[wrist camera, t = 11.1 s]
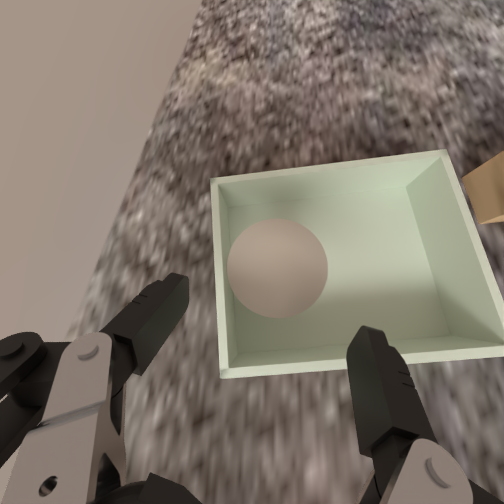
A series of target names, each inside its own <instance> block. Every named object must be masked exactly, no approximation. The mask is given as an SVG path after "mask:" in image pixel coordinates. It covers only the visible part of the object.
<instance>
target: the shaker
mask: <svg viewBox="0 0 504 504" xmlns="http://www.w3.org/2000/svg"><path fill="white" fill-rule="evenodd" d="M227 276H228V280H229V283H230V286H231V289H232V290H233V292H234V294H235V296H236V297H237V298H238V300H239V301H240V302H241V303H242V304H243V305H244V306H246V307H247V308H248V309H250V310H251V311H253V312H255V313H257V314H259V315H262V316H265V317H270V318H286V317H291V316H294V315H297V314H299V313H301V312H303V311H305V310H306V309H308V308H309V307H310V306H312V305H313V304H314V303H315V302H316V300H317V299H318V298H319V296H320V295H321V293H322V291H323V289H324V287H325V284H326V281H327V276H328V262H327V257H326V254H325V251H324V248H323V246H322V244H321V243H320V241H319V240H318V238H317V237H316V236H315V235H314V234H313V233H312V232H311V231H310V230H309V229H307V228H306V227H304V226H303V225H301V224H299V223H297V222H294V221H291V220H286V219H267V220H263V221H260V222H257V223H255V224H253V225H251V226H250V227H248V228H247V229H245V230H244V231H243V232H242V233H241V234H240V235H239V236H238V237H237V239H236V240H235V242H234V243H233V245H232V247H231V249H230V252H229V255H228V260H227Z"/></svg>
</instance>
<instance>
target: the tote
mask: <svg viewBox="0 0 504 504" xmlns="http://www.w3.org/2000/svg"><path fill="white" fill-rule="evenodd" d="M210 181H211V202H212V222H213V242H214V262H215V282H216V303H217V323H218V343H219V363H220V379H226V378H238V377H251V376H263V375H276V374H288V373H301V372H313V371H326V370H338V369H347V362H346V354H347V349H348V346H349V345H350V343H351V341H352V340H353V338H354V336H355V335H356V333H357V332H358V330H359V328H360V327H361V326H362V325H365V326H368V327H372V328H376V329H379V330H382V331H383V332H384V333H385V335H386V338H387V341H388V344H389V346H392V347H395V348H396V349H397V351H398V352H399V353H400V355H401V356H402V357H403V359H404V360H405V362H406V364H413V363H426V362H438V361H451V360H463V359H476V358H488V357H501V356H504V301H503V299H502V296H501V293H500V291H499V288H498V285H497V283H496V280H495V277H494V275H493V272H492V269H491V267H490V264H489V261H488V259H487V256H486V253H485V251H484V248H483V245H482V243H481V240H480V237H479V235H478V232H477V229H476V227H475V224H474V221H473V219H472V216H471V213H470V211H469V208H468V205H467V203H466V200H465V198H464V195H463V192H462V190H461V187H460V184H459V182H458V179H457V176H456V174H455V171H454V168H453V166H452V163H451V160H450V158H449V155H448V152H447V150H446V149H443V150H435V151H426V152H418V153H410V154H402V155H394V156H386V157H378V158H370V159H362V160H354V161H346V162H338V163H330V164H322V165H314V166H306V167H298V168H290V169H282V170H274V171H266V172H258V173H250V174H242V175H234V176H226V177H218V178H210ZM267 219H286V220H291V221H294V222H297V223H299V224H301V225H303V226H304V227H306V228H307V229H309V230H310V231H311V232H312V233H313V234H314V235H315V236H316V237H317V238H318V240H319V241H320V243H321V244H322V246H323V248H324V251H325V254H326V257H327V262H328V276H327V281H326V284H325V287H324V289H323V291H322V293H321V295H320V296H319V298H318V299H317V300H316V302H315V303H314V304H313V305H312V306H310V307H309V308H308V309H306V310H305V311H303V312H301V313H299V314H297V315H294V316H291V317H286V318H270V317H265V316H262V315H259V314H257V313H255V312H253V311H251V310H250V309H248V308H247V307H246V306H244V305H243V304H242V303H241V302H240V301H239V300H238V298H237V297H236V296H235V294H234V292H233V290H232V289H231V286H230V283H229V280H228V276H227V260H228V255H229V252H230V249H231V247H232V245H233V243H234V242H235V240H236V239H237V237H238V236H239V235H240V234H241V233H242V232H243V231H244V230H245V229H247V228H248V227H250V226H251V225H253V224H255V223H257V222H260V221H263V220H267Z"/></svg>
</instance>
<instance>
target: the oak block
mask: <svg viewBox="0 0 504 504" xmlns="http://www.w3.org/2000/svg"><path fill="white" fill-rule="evenodd" d="M462 181H463V183H464V186H465V189H466V191H467V194H468V197H469V199H470V202H471V204H472V207H473V210H474V212H475V215H476V218H477V220H478V223H479V224H484V223H493V222H502V221H504V151H502V152H501V153H499V154H497V155H496V156H494V157H493V158H491V159H490V160H488V161H487V162H485V163H484V164H482V165H481V166H479V167H478V168H476V169H475V170H473V171H472V172H470V173H469V174H467V175H466V176H464V177H463V178H462Z"/></svg>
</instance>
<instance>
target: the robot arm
mask: <svg viewBox="0 0 504 504" xmlns="http://www.w3.org/2000/svg"><path fill="white" fill-rule="evenodd" d="M188 304H189V279H188V277H187V276H184V275H180V274H176V273H170V274H169V275H168V276H167V277H166V278H165V279H164V280H163V281H160V280H157V281H155V282H153V283H152V284H150V285H148V286H146V287H145V288H144V289H143V290H142V291H141V292H140V293H139V295H138V296H136V297H135V298H134V299H133V300H132V302H130V303H129V304H128V305H127V306H126V307H125V308H124V309H123V310H122V311H121V312H120V313H119V314H118V315H117V316H115V317H114V318H113V319H112V320H111V321H110V322H109V323H108V324H107V325H106V326H105V327H104V328H103V329H102V330H101V331H99V332H94V333H89V334H86V335H83V336H81V337H79V338H77V339H76V340H74V341H73V342H43V340H42V339H41V337H40V336H39V335H38V334H37V333H34V332H22V333H17V334H14V335H11V336H9V337H6V338H4V339H2V340H0V400H1V399H2V398H3V397H4V396H5V395H6V394H7V395H8V396H7V397H6V398H5V399H4V400H3V401H2V402H1V403H0V468H1V467H2V466H3V464H4V463H5V462H6V461H7V460H8V459H9V458H10V456H11V455H12V454H13V453H14V452H15V450H16V449H17V448H18V447H19V446H20V445H21V447H20V449H19V452H18V455H17V458H16V461H15V464H14V467H13V470H12V473H11V476H10V479H9V482H8V485H7V488H6V491H5V494H4V497H3V499H2V502H1V504H202V503H201V502H200V501H199V500H198V499H197V498H195V497H194V496H193V495H192V494H191V493H190V492H189V491H188V490H187V489H186V488H185V487H184V486H182V485H180V484H177V483H175V482H172V481H170V480H167V479H165V478H163V477H160V476H158V475H155V474H153V473H151V472H150V474H149V476H148V478H147V480H146V481H139V482H134V483H130V484H127V485H125V480H126V452H125V445H124V423H125V400H126V381H127V379H128V378H129V377H130V375H131V374H132V373H134V374H137V375H140V376H142V374H143V373H144V372H145V370H146V369H147V367H148V366H149V364H150V363H151V361H152V360H153V358H154V357H155V355H156V354H157V352H158V351H159V350H160V348H161V347H162V345H163V344H164V342H165V341H166V339H167V338H168V336H169V335H170V333H171V332H172V331H173V329H174V328H175V326H176V325H177V323H178V322H179V320H180V319H181V317H182V316H183V314H184V313H185V311H186V309H187V307H188ZM346 362H347V369H348V376H349V382H350V389H351V396H352V403H353V410H354V417H355V424H356V431H357V438H358V444H359V451H360V454H362V455H365V456H367V457H370V458H372V460H373V465H374V469H373V470H372V471H371V473H370V475H369V477H368V479H367V481H366V483H365V484H364V486H363V488H362V490H361V492H360V494H359V496H358V498H357V500H356V502H355V504H504V502H502V501H501V500H499V499H498V498H496V497H495V496H493V495H492V494H490V493H489V492H487V491H486V490H484V489H483V488H481V487H480V486H478V485H477V484H475V483H474V482H472V481H471V480H469V479H468V478H467V477H466V475H465V473H464V472H463V470H462V469H461V467H460V466H459V464H458V463H457V462H456V460H455V459H454V458H453V457H452V456H451V455H450V454H449V453H448V452H447V451H446V450H445V449H443V448H442V447H441V446H439V444H438V443H437V440H436V438H435V436H434V433H433V431H432V428H431V426H430V423H429V421H428V418H427V416H426V413H425V410H424V408H423V405H422V403H421V400H420V398H419V395H418V393H417V390H416V389H415V385H414V383H413V380H412V377H410V372H409V370H408V367H407V365H406V362H405V360H404V359H403V357H402V356H401V355H400V353H399V352H398V351H397V349H396V348H395V347H392V346H389V344H388V341H387V338H386V335H385V333H384V332H383V331H382V330H379V329H376V328H372V327H368V326H365V325H362V326H361V327H360V328H359V330H358V332H357V333H356V335H355V336H354V338H353V340H352V341H351V343H350V345H349V346H348V349H347V354H346ZM40 421H41V422H40ZM39 423H40V424H39ZM38 424H39V425H38ZM37 425H38V426H37Z"/></svg>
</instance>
